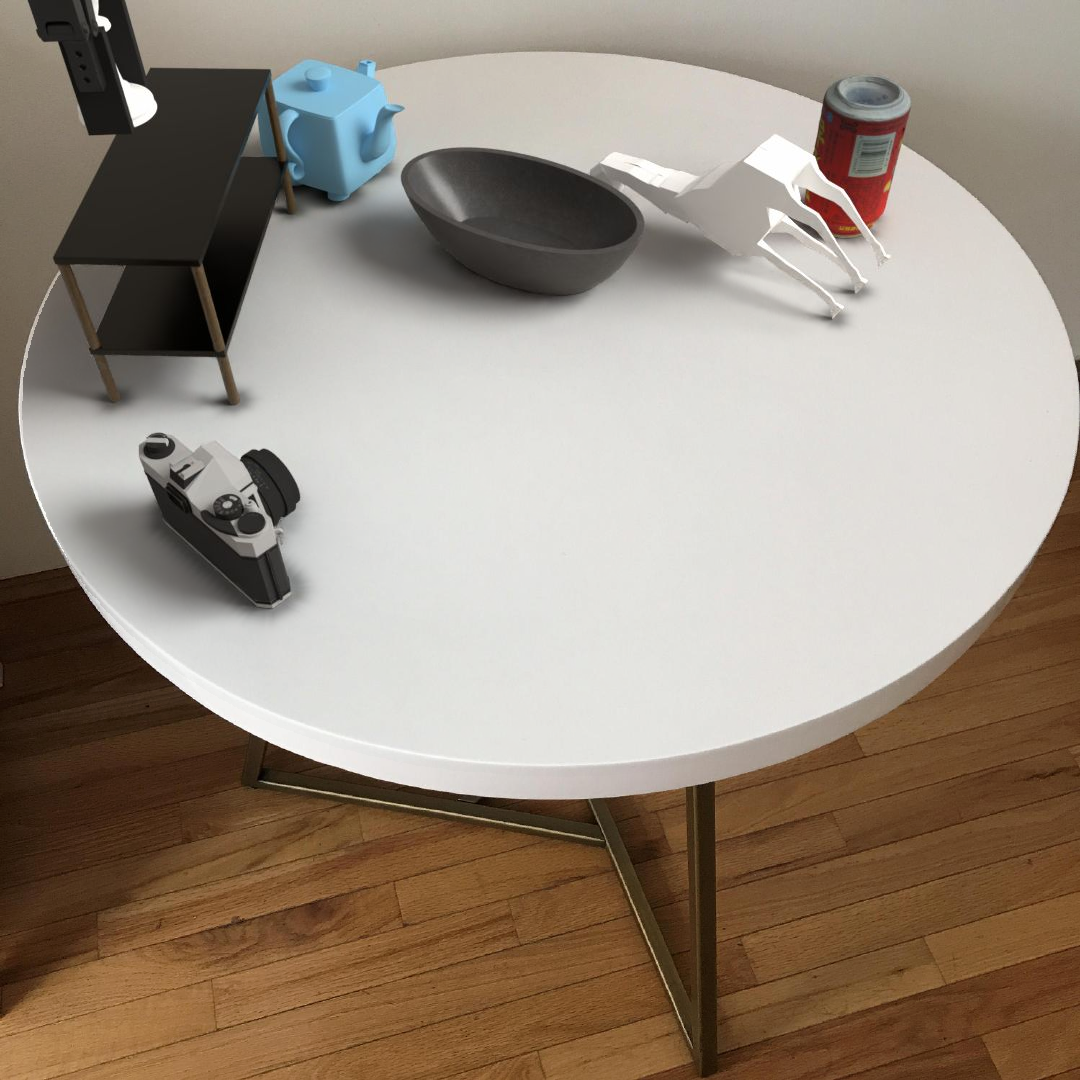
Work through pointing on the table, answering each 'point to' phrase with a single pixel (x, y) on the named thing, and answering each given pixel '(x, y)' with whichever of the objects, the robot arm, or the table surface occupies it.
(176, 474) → the camera
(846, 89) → the soda can
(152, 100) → the chess piece
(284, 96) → the teapot
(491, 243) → the bowl
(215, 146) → the rack
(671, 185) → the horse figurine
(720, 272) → the table surface
